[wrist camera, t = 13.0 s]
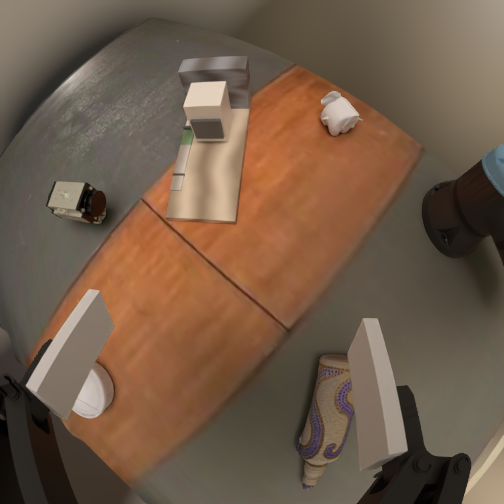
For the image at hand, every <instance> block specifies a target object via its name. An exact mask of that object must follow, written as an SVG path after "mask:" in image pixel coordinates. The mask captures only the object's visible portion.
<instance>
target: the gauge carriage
mask: <svg viewBox="0 0 504 504" xmlns="http://www.w3.org/2000/svg"><path fill="white" fill-rule="evenodd" d="M183 108H184V111H185V113H186V116H187V118H188V121H189V123H190V126H184V127H183V128H184V129H192V131H193V134H194V136H195V139H196V141H197V142H199V141H225V142H228V140H229V134H230V128H231V123H232V112H231V107H230V101H229V95H228V89H227V84H226V81H218V82H198V83H191V85H190V88H189V91H188V94H187V97H186V100H185V103H184V106H183Z"/></svg>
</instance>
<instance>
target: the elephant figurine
mask: <svg viewBox="0 0 504 504" xmlns="http://www.w3.org/2000/svg"><path fill="white" fill-rule="evenodd" d="M321 103H322V105H324V106H325V108H324V110H323V111H322V113H321V116H320V118H321V121H322V123H323V124H324V125H326V126H328V128H329V132H330V134H331V135H333V136H337V135H338V134H339V133H340V131H341V133H346V132H347V131H348V130H349V129H350V128H354V126H355V124H356V123H357V122H358V120H362V119H360V118H359V114H358V112H357V111H356V110H355V109H354V108H353V107H352V105H351V104H350V103H349V102H348V101H347V100H346V99H345V98H343V97H341V95H340V93H338V92H336V91H333V92H330V93H329V94H327V95H326V96H325V97H324V98H322V99H321Z"/></svg>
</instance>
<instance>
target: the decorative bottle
mask: <svg viewBox="0 0 504 504" xmlns="http://www.w3.org/2000/svg"><path fill="white" fill-rule="evenodd" d="M319 361H320V365H319V368H318V376H317V380H316V384H315V388H314V393H313V399H312V403H311V406H310V410H309V414H308V418H307V421H306V425H305V428H304V429H303V431H302V433H301V436H300V437H299V441H298V445H297V446H296V450H297V451H299V455H300V456H301V457H302V458H303V459H305V460H306V461H305V465H304V472H305V474H304V476H303V480H302V481H303V489H305V490H309V489H311V488H312V487H313V486H314V485H315V484H317V482H318V480H319V478H320V475H322V473H323V472H324V470H325V469H326V466H327V463H330V462H333V461H336V460H337V459H338V458H339V457H340V455H341V452H342V449H343V446H344V443H345V441H346V437H347V434H348V430H349V427H350V423H351V420H352V416H353V412H354V409H355V407H354V398H353V390H352V382H351V375H350V368H349V362H348V355H345V354H328V355H322V356H321V357H320V359H319ZM301 438H302V439H301ZM299 443H301V444H300V445H299ZM298 446H299V448H298Z"/></svg>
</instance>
